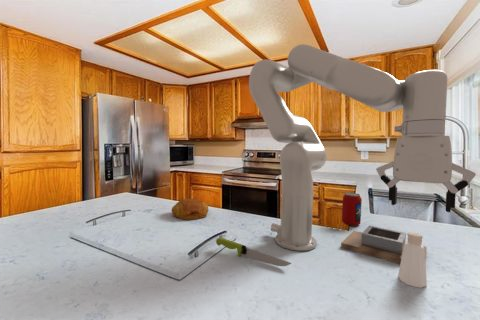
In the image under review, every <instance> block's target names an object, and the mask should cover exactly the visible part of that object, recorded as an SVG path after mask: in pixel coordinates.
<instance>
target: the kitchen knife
mask: <svg viewBox="0 0 480 320" xmlns="http://www.w3.org/2000/svg"><path fill="white" fill-rule="evenodd" d="M215 243H216V245H217V246H221V245H222V246H223V247H225V248H227V249H229V250H236V251H237V257H245V258H248V259H251V260H255V261H259V262H263V263H265V264H270V265H274V266H277V267H288V266H290V265H291V264H292V262H291V261H287V260H285V259H281V258H279V257H276V256H273V255H270V254H266V253H264V252H261V251H258V250H255V249H252V248H249V247H247V246H246V245H243V244H241V243H239V242H236V241H232V240H229V239H226V238H223V237H218V238H217V239H216V241H215Z"/></svg>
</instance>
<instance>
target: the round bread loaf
mask: <svg viewBox="0 0 480 320" xmlns="http://www.w3.org/2000/svg"><path fill="white" fill-rule="evenodd" d="M208 212H209V206H208V204H206V203H205V202H204V201H202V200H201V199H199V198H187V199H180V200H179V201H178V202H177V203H176V204H174V205H173V206H172V207H171V213H172V216H174V217H175V218H177V219H180V220H182V221H183V220H185V221H189V220H199V219H202V218H206V217H207V215H208Z"/></svg>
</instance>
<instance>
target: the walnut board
mask: <svg viewBox="0 0 480 320" xmlns="http://www.w3.org/2000/svg"><path fill="white" fill-rule="evenodd" d="M362 233H363V232H362V231H357V230H353V231H352V232H351V233H350V234H349V235H347V237H346V238H345V239H343V240H342V241H341V243H340V244H341V245H340V248H342V249H345V250H348V251H351V252H352V251H353V252H357V253H360V254H363V255H367V256H371V257H375V258H377V259H381V260H386V261H389V262H392V263H397V264H399V265H400V264H401V258H402V255H397V254H393V253H390V252H386V251H382V250H378V249H374V248H370V247H366V246H362V245H361V240H362ZM406 242H407V241H405V243H406ZM423 247H424V249H425V261H426V258H427V247H428V246H424V245H423ZM402 253H403V252H402Z"/></svg>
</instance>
